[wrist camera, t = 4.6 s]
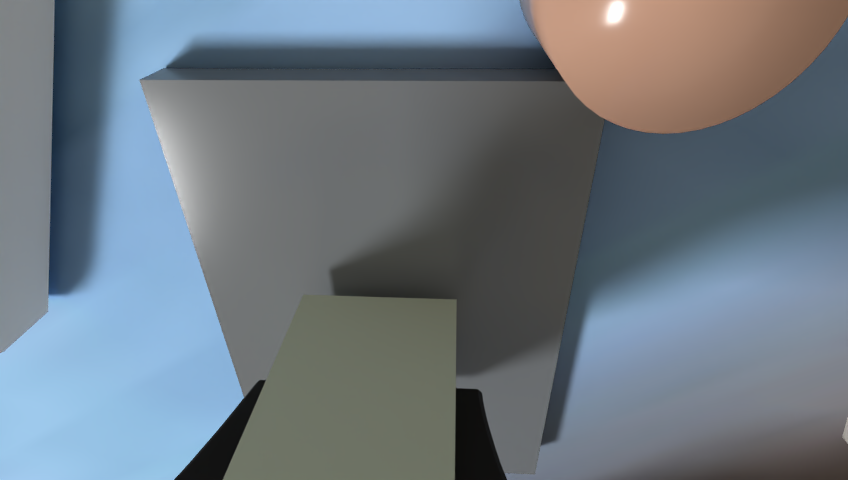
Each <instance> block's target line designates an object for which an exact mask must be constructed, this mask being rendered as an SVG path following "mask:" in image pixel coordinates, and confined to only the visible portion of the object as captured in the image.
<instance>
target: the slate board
mask: <svg viewBox="0 0 848 480" xmlns="http://www.w3.org/2000/svg"><path fill="white" fill-rule="evenodd" d="M140 83H141V86H142V89H143V92H144V95H145V98H146V101H147V104H148V107H149V110H150V113H151V116H152V119H153V122H154V125H155V128H156V131H157V134H158V137H159V140H160V143H161V146H162V149H163V152H164V156H165V159H166V162H167V165H168V168H169V171H170V174H171V177H172V180H173V183H174V186H175V189H176V192H177V195H178V198H179V201H180V204H181V207H182V210H183V213H184V216H185V219H186V222H187V225H188V228H189V231H190V234H191V237H192V240H193V244H194V247H195V250H196V253H197V256H198V259H199V262H200V265H201V268H202V271H203V274H204V277H205V280H206V283H207V286H208V289H209V292H210V295H211V298H212V301H213V304H214V307H215V310H216V313H217V316H218V319H219V322H220V325H221V329H222V332H223V335H224V338H225V341H226V344H227V347H228V350H229V353H230V356H231V359H232V362H233V365H234V368H235V371H236V374H237V377H238V380H239V383H240V386H241V389H242V392H243V395H244V397H245V396H246V395H247V394H248V392H249V391H250V390H251V389H252V387H253V386H254V385H255V384H256V383H257V382H258V381H259V380H266V379H267V377H268V375H269V372H270V370H271V368H272V365H273V363H274V361H275V358H276V356H277V354H278V352H279V349H280V347H281V345H282V342H283V340H284V338H285V335H286V333H287V331H288V329H289V326H290V324H291V322H292V319H293V317H294V315H295V312H296V310H297V308H298V306H299V303H300V301H301V299H302V296H303V295H330V296H362V297H394V298H426V299H457V313H456V388H465V389H478V390H479V391H481V392H482V396H483V403H484V408H485V412H486V417H487V421H488V424H489V428H490V432H491V435H492V438H493V441H494V445H495V448H496V451H497V454H498V457H499V460H500V463H501V465H502V468H503V471H504V473H517V474H535V471H536V466H537V461H538V456H539V451H540V446H541V440H542V435H543V430H544V425H545V420H546V415H547V410H548V405H549V400H550V395H551V390H552V385H553V380H554V374H555V369H556V364H557V359H558V354H559V349H560V344H561V339H562V334H563V329H564V324H565V319H566V313H567V308H568V303H569V298H570V293H571V288H572V283H573V278H574V273H575V268H576V263H577V258H578V253H579V247H580V242H581V237H582V232H583V227H584V222H585V217H586V212H587V207H588V202H589V197H590V192H591V187H592V181H593V176H594V171H595V166H596V161H597V156H598V151H599V146H600V141H601V136H602V131H603V126H604V120H605V119H604V118H602V117H600V116H599V115H597V114H596V113H595V112H593V111H592V110H590V109H589V108H588V107H586V106H585V105H584V104H583V103H582V102H581V101H580V100H579V99H578V98H577V97H576V96H575V94H574V93H573V92H572V90H571V89H570V88H569V86H568V85H567V83H566V82H565V81H564V79H563V78H562V76H561V75H560V73H559V72H558V70H557V69H228V68H163V69H161V70H159V71H157V72H155V73H153V74H151V75H149V76H147V77H144V78H142V79H140Z"/></svg>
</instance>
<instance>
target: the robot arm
mask: <svg viewBox="0 0 848 480" xmlns="http://www.w3.org/2000/svg"><path fill="white" fill-rule="evenodd" d="M265 381H266V380H259V381H258V382H257V383H256V384H255V385H254V386H253V387H252V389H251V390H250V391H249V392H248V394H247V395H246V396H245V397H244V399H243V400H242V401H241V402H240V404H239V405H238V406H237V407H236V409H235V410H234V411H233V412H232V414H231V415H230V416H229V417H228V418H227V420H226V421H225V422H224V423H223V425H222V426H221V427H220V428H219V429H218V431H217V432H216V433H215V434H214V435H213V436H212V438H211V439H210V440H209V441H208V442H207V443H206V445H205V446H204V447H203V448H202V449H201V450H200V451H199V453H198V454H197V455H196V456H195V457H194V458H193V460H192V461H191V462H190V463H189V464H188V465H187V466H186V467H185V469H184V470H183V471H182V472H181V473H180V474H179V475H178V476H177V477H176V478H175V479H174V480H223V478H224V476H225V473H226V471H227V469H228V467H229V464H230V462H231V460H232V457H233V455H234V453H235V450H236V448H237V446H238V444H239V441H240V439H241V437H242V434H243V432H244V430H245V427H246V425H247V423H248V421H249V418H250V416H251V414H252V411H253V409H254V407H255V404H256V402H257V400H258V398H259V395H260V393H261V391H262V388H263V386H264V384H265ZM455 480H507V479H506V476H505V473H504V471H503V468H502V465H501V463H500V460H499V457H498V454H497V451H496V448H495V445H494V441H493V438H492V435H491V432H490V428H489V424H488V421H487V417H486V412H485V408H484V403H483V396H482V392H481V391H479V390H478V389H465V388H456V412H455Z"/></svg>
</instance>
